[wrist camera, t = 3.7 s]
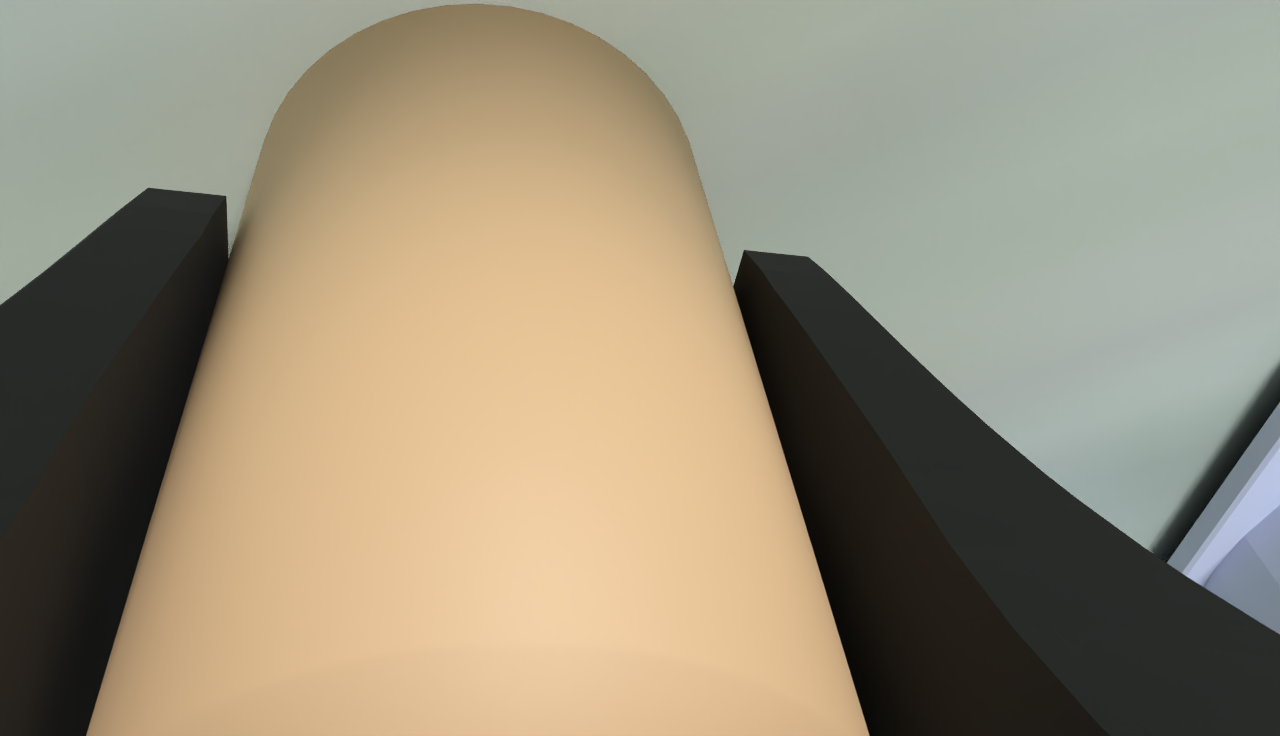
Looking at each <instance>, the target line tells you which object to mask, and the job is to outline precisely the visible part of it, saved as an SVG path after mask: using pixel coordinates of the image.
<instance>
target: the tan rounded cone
mask: <svg viewBox="0 0 1280 736" xmlns="http://www.w3.org/2000/svg"><path fill="white" fill-rule="evenodd" d="M86 736H869V732H868V729H867V726H866V723H865V719H864V716H863V713H862V709H861V706H860V703H859V700H858V696H857V693H856V690H855V686H854V683H853V680H852V677H851V673H850V670H849V667H848V663H847V660H846V657H845V653H844V650H843V647H842V644H841V640H840V637H839V634H838V630H837V627H836V624H835V621H834V617H833V614H832V611H831V607H830V604H829V601H828V598H827V594H826V591H825V588H824V584H823V581H822V578H821V574H820V571H819V568H818V565H817V561H816V558H815V555H814V551H813V548H812V545H811V542H810V538H809V535H808V532H807V528H806V525H805V522H804V519H803V515H802V512H801V509H800V505H799V502H798V499H797V496H796V492H795V489H794V486H793V482H792V479H791V476H790V472H789V469H788V466H787V463H786V459H785V456H784V453H783V449H782V446H781V443H780V440H779V436H778V433H777V430H776V426H775V423H774V420H773V417H772V413H771V410H770V407H769V403H768V400H767V397H766V393H765V390H764V387H763V384H762V380H761V377H760V374H759V370H758V367H757V364H756V361H755V357H754V354H753V351H752V347H751V344H750V341H749V338H748V334H747V331H746V328H745V324H744V321H743V318H742V314H741V311H740V308H739V305H738V301H737V298H736V295H735V291H734V288H733V285H732V282H731V278H730V275H729V272H728V268H727V265H726V262H725V259H724V255H723V252H722V249H721V245H720V242H719V239H718V235H717V232H716V229H715V226H714V222H713V219H712V216H711V212H710V209H709V206H708V203H707V199H706V196H705V193H704V189H703V186H702V183H701V180H700V176H699V173H698V170H697V166H696V163H695V160H694V156H693V153H692V150H691V147H690V143H689V141H688V138H687V136H686V134H685V131H684V129H683V127H682V125H681V122H680V120H679V118H678V116H677V115H676V113H675V112H674V110H673V108H672V107H671V105H670V104H669V102H668V100H667V99H666V97H665V96H664V94H663V93H662V92H661V91H660V90H659V88H658V87H657V86H656V85H655V84H654V82H653V81H652V80H651V79H650V78H649V77H648V75H647V74H646V73H645V72H644V71H643V70H641V69H640V68H639V67H638V66H637V65H636V64H635V63H634V62H632V61H631V60H630V59H629V58H628V57H627V56H626V55H625V54H623V53H622V52H620V51H619V50H617V49H616V48H614V47H613V46H611V45H610V44H608V43H607V42H605V41H604V40H602V39H601V38H600V37H598V36H596V35H594V34H592V33H590V32H588V31H586V30H584V29H582V28H579V27H577V26H575V25H573V24H571V23H569V22H566V21H563V20H560V19H557V18H554V17H551V16H548V15H545V14H543V13H538V12H534V11H529V10H524V9H519V8H515V7H509V6H497V5H484V4H466V5H445V6H439V7H434V8H428V9H422V10H417V11H412V12H409V13H406V14H402V15H399V16H396V17H393V18H390V19H387V20H383V21H381V22H379V23H377V24H375V25H373V26H370V27H368V28H366V29H364V30H362V31H360V32H358V33H356V34H354V35H352V36H351V37H349V38H348V39H346V40H345V41H343V42H342V43H340V44H339V45H337V46H335V47H334V48H332V49H331V50H329V51H328V52H327V53H326V54H325V55H324V56H323V57H321V58H320V59H319V60H318V61H317V62H316V63H315V64H313V65H312V66H311V67H310V68H309V69H308V70H307V71H306V72H305V73H304V74H303V76H302V77H301V78H300V79H299V80H298V82H297V83H296V84H295V85H294V86H293V88H292V89H291V90H290V91H289V92H288V94H287V96H286V97H285V99H284V101H283V102H282V104H281V106H280V107H279V109H278V111H277V112H276V114H275V116H274V118H273V121H272V123H271V126H270V128H269V130H268V133H267V135H266V138H265V140H264V144H263V147H262V150H261V154H260V157H259V160H258V164H257V167H256V170H255V174H254V177H253V180H252V184H251V187H250V190H249V194H248V197H247V200H246V204H245V207H244V210H243V214H242V217H241V220H240V224H239V227H238V230H237V234H236V237H235V240H234V244H233V247H232V250H231V254H230V257H229V260H228V264H227V267H226V270H225V274H224V277H223V280H222V284H221V287H220V290H219V294H218V297H217V300H216V304H215V307H214V310H213V314H212V317H211V320H210V324H209V327H208V331H207V334H206V337H205V341H204V344H203V347H202V351H201V354H200V357H199V361H198V364H197V367H196V371H195V374H194V377H193V381H192V384H191V387H190V391H189V394H188V397H187V401H186V404H185V407H184V411H183V414H182V417H181V421H180V424H179V427H178V431H177V434H176V437H175V441H174V444H173V447H172V451H171V454H170V457H169V461H168V464H167V467H166V471H165V474H164V477H163V481H162V484H161V487H160V491H159V494H158V497H157V501H156V504H155V507H154V511H153V514H152V517H151V521H150V524H149V527H148V531H147V534H146V537H145V541H144V544H143V547H142V551H141V554H140V557H139V561H138V564H137V568H136V571H135V574H134V578H133V581H132V584H131V588H130V591H129V594H128V598H127V601H126V604H125V608H124V611H123V614H122V618H121V621H120V624H119V628H118V631H117V634H116V638H115V641H114V644H113V648H112V651H111V654H110V658H109V661H108V664H107V668H106V671H105V674H104V678H103V681H102V684H101V688H100V691H99V694H98V698H97V701H96V704H95V708H94V711H93V714H92V718H91V721H90V724H89V728H88V731H87V734H86Z"/></svg>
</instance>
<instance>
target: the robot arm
mask: <svg viewBox="0 0 1280 736" xmlns="http://www.w3.org/2000/svg"><path fill="white" fill-rule="evenodd" d="M227 264H228V233H227V204H226V196H221V195H211V194H202V193H192V192H183V191H173V190H163V189H154V188H147V189H146V190H145V191H143V192H142V193H141V194H140V195H138V196H137V197H136V198H134V199H133V200H132V201H130V202H129V203H128V204H127V205H125V206H124V207H123V208H121V209H120V210H119V211H118V212H116V213H115V214H114V215H113V216H111V217H110V218H109V219H108V220H107V221H105V222H104V223H103V224H102V225H100V226H99V227H98V228H97V229H96V230H94V231H93V232H92V233H91V234H90V235H88V236H87V237H86V238H85V239H83V240H82V241H81V242H80V243H79V244H77V245H76V246H75V247H74V248H72V249H71V250H70V251H69V252H68V253H66V254H65V255H64V256H63V257H61V258H60V259H59V260H58V261H56V262H55V263H54V264H53V265H52V266H50V267H49V268H48V269H47V270H45V271H44V272H43V273H42V274H40V275H39V276H38V277H36V278H35V279H34V280H32V281H31V282H30V283H29V284H27V285H26V286H25V287H23V288H22V289H21V290H19V291H18V292H17V293H16V294H14V295H13V296H12V297H10V298H9V299H8V300H6V301H5V302H4V303H3V304H1V305H0V736H86V734H87V731H88V728H89V724H90V721H91V718H92V714H93V711H94V708H95V704H96V701H97V698H98V694H99V691H100V688H101V684H102V681H103V678H104V674H105V671H106V668H107V664H108V661H109V658H110V654H111V651H112V648H113V644H114V641H115V638H116V634H117V631H118V628H119V624H120V621H121V618H122V614H123V611H124V608H125V604H126V601H127V598H128V594H129V591H130V588H131V584H132V581H133V578H134V574H135V571H136V568H137V564H138V561H139V557H140V554H141V551H142V547H143V544H144V541H145V537H146V534H147V531H148V527H149V524H150V521H151V517H152V514H153V511H154V507H155V504H156V501H157V497H158V494H159V491H160V487H161V484H162V481H163V477H164V474H165V471H166V467H167V464H168V461H169V457H170V454H171V451H172V447H173V444H174V441H175V437H176V434H177V431H178V427H179V424H180V421H181V417H182V414H183V411H184V407H185V404H186V401H187V397H188V394H189V391H190V387H191V384H192V381H193V377H194V374H195V371H196V367H197V364H198V361H199V357H200V354H201V351H202V347H203V344H204V341H205V337H206V334H207V331H208V327H209V324H210V320H211V317H212V314H213V310H214V307H215V304H216V300H217V297H218V294H219V290H220V287H221V284H222V280H223V277H224V274H225V270H226V267H227ZM733 288H734V291H735V295H736V298H737V301H738V305H739V308H740V311H741V314H742V318H743V321H744V324H745V328H746V331H747V334H748V338H749V341H750V344H751V347H752V351H753V354H754V357H755V361H756V364H757V367H758V370H759V374H760V377H761V380H762V384H763V387H764V390H765V393H766V397H767V400H768V403H769V407H770V410H771V413H772V417H773V420H774V423H775V426H776V430H777V433H778V436H779V440H780V443H781V446H782V449H783V453H784V456H785V459H786V463H787V466H788V469H789V472H790V476H791V479H792V482H793V486H794V489H795V492H796V496H797V499H798V502H799V505H800V509H801V512H802V515H803V519H804V522H805V525H806V528H807V532H808V535H809V538H810V542H811V545H812V548H813V551H814V555H815V558H816V561H817V565H818V568H819V571H820V574H821V578H822V581H823V584H824V588H825V591H826V594H827V598H828V601H829V604H830V607H831V611H832V614H833V617H834V621H835V624H836V627H837V630H838V634H839V637H840V640H841V644H842V647H843V650H844V653H845V657H846V660H847V663H848V667H849V670H850V673H851V677H852V680H853V683H854V686H855V690H856V693H857V696H858V700H859V703H860V706H861V709H862V713H863V716H864V719H865V723H866V726H867V729H868V732H869V736H1280V402H1279V404H1278V405H1277V407H1276V408H1275V409H1274V411H1273V412H1272V414H1271V415H1270V417H1269V418H1268V419H1267V421H1266V422H1265V424H1264V425H1263V427H1262V428H1261V429H1260V431H1259V432H1258V434H1257V435H1256V437H1255V438H1254V439H1253V441H1252V442H1251V444H1250V445H1249V447H1248V448H1247V449H1246V451H1245V452H1244V454H1243V455H1242V456H1241V458H1240V459H1239V461H1238V462H1237V464H1236V465H1235V466H1234V468H1233V469H1232V471H1231V472H1230V474H1229V475H1228V476H1227V478H1226V479H1225V481H1224V482H1223V484H1222V485H1221V486H1220V488H1219V489H1218V491H1217V492H1216V494H1215V495H1214V496H1213V498H1212V499H1211V501H1210V502H1209V503H1208V505H1207V506H1206V508H1205V509H1204V511H1203V512H1202V513H1201V515H1200V516H1199V518H1198V519H1197V521H1196V522H1195V523H1194V525H1193V526H1192V528H1191V529H1190V531H1189V532H1188V533H1187V535H1186V536H1185V538H1184V539H1183V541H1182V542H1181V543H1180V545H1179V546H1178V548H1177V549H1176V550H1175V552H1174V553H1173V555H1172V556H1171V558H1170V559H1169V560H1168V562H1167V563H1166V562H1164V561H1163V560H1161V559H1160V558H1158V557H1157V556H1155V555H1154V554H1152V553H1151V552H1150V551H1148V550H1147V549H1145V548H1144V547H1142V546H1141V545H1140V544H1138V543H1137V542H1136V541H1134V540H1133V539H1131V538H1130V537H1129V536H1127V535H1126V534H1125V533H1123V532H1122V531H1120V530H1119V529H1118V528H1116V527H1115V526H1114V525H1112V524H1111V523H1109V522H1108V521H1107V520H1105V519H1104V518H1103V517H1101V516H1100V515H1098V514H1097V513H1096V512H1094V511H1093V510H1092V509H1090V508H1089V507H1088V506H1086V505H1085V504H1083V503H1082V502H1081V501H1079V500H1078V499H1077V498H1075V497H1074V496H1073V495H1071V494H1070V493H1069V492H1068V491H1066V490H1065V489H1064V488H1063V487H1061V486H1060V485H1059V484H1057V483H1056V482H1055V481H1054V480H1052V479H1051V478H1050V477H1049V476H1047V475H1046V474H1045V473H1044V472H1042V471H1041V470H1040V469H1039V468H1038V467H1036V466H1035V465H1034V464H1033V463H1032V462H1030V461H1029V460H1028V459H1027V458H1026V457H1025V456H1023V455H1022V454H1021V453H1020V452H1019V451H1017V450H1016V449H1015V448H1014V447H1013V446H1012V445H1010V444H1009V443H1008V442H1007V441H1006V440H1004V439H1003V438H1002V437H1001V436H1000V435H999V434H997V433H996V432H995V431H994V430H993V429H991V428H990V427H989V426H988V425H987V424H986V423H985V422H984V421H982V420H981V419H980V418H979V417H978V416H977V415H976V414H975V413H973V412H972V411H971V410H970V409H969V408H968V407H967V406H966V405H965V404H963V403H962V402H961V401H960V400H959V399H958V398H957V397H956V396H955V395H954V394H953V393H952V392H950V391H949V390H948V389H947V388H946V387H945V386H944V385H943V384H942V383H941V382H940V381H939V380H938V379H937V378H935V377H934V376H933V375H932V374H931V373H930V372H929V371H928V370H927V369H926V368H925V367H924V366H923V365H922V364H921V363H920V362H919V361H918V360H917V359H915V358H914V357H913V356H912V355H911V354H910V353H909V352H908V351H907V350H906V349H905V348H904V347H903V346H902V345H901V344H900V343H899V342H898V341H897V340H896V339H895V338H894V337H893V336H892V335H891V334H890V333H889V332H888V331H887V330H886V329H885V328H884V327H883V326H882V325H881V324H880V323H879V322H878V321H876V320H875V319H874V318H873V317H872V316H871V315H870V314H869V313H868V312H867V311H866V310H865V309H864V308H863V307H862V306H861V305H860V304H859V303H858V302H857V301H856V300H855V299H854V298H853V297H852V296H851V295H850V294H849V293H848V292H847V291H846V290H845V289H844V288H843V287H842V286H840V285H839V284H838V283H837V282H836V281H835V280H834V279H833V278H832V277H831V276H830V275H829V274H828V273H826V272H825V271H824V270H823V269H822V268H821V267H820V266H818V265H817V264H816V263H815V262H814V261H812V260H811V259H810V258H809V257H805V256H795V255H785V254H776V253H766V252H757V251H747V250H744V252H743V256H742V259H741V262H740V266H739V269H738V273H737V276H736V279H735V283H734V286H733Z"/></svg>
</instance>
